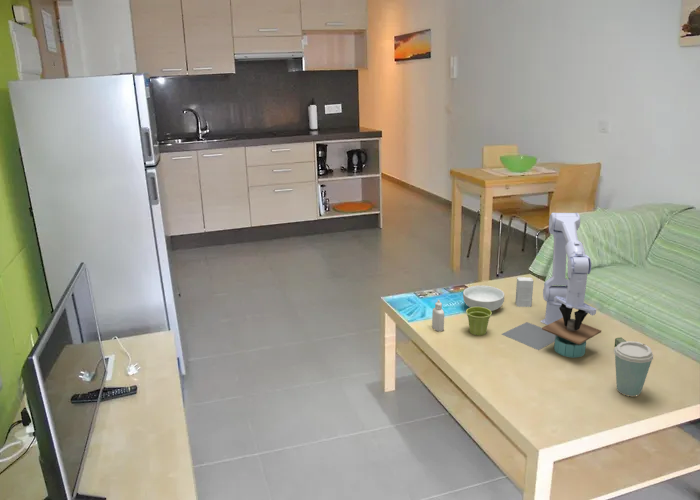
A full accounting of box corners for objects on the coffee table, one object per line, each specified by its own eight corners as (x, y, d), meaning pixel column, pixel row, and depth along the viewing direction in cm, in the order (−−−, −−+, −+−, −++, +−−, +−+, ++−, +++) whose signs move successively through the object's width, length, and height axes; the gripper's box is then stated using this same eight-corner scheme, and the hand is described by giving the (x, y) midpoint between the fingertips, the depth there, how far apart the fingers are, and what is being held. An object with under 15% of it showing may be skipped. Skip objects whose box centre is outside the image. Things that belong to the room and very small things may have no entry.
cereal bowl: (461, 299, 237) (462, 284, 235) (500, 300, 235) (501, 285, 233) (463, 316, 221) (464, 300, 219) (506, 317, 219) (507, 301, 217)
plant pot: (462, 336, 205) (463, 315, 202) (467, 325, 213) (468, 305, 210) (488, 340, 201) (489, 318, 199) (492, 329, 210) (493, 308, 207)
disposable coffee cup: (629, 404, 161) (636, 359, 157) (600, 386, 171) (606, 343, 166) (655, 395, 165) (662, 351, 161) (625, 378, 175) (631, 336, 170)
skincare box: (529, 303, 231) (531, 277, 228) (531, 307, 227) (534, 280, 224) (514, 303, 232) (516, 276, 228) (516, 307, 228) (518, 280, 224)
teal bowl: (564, 341, 199) (565, 329, 197) (590, 352, 191) (591, 339, 190) (548, 350, 193) (549, 337, 191) (574, 361, 185) (576, 348, 184)
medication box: (613, 348, 194) (614, 338, 193) (620, 346, 195) (621, 336, 193) (637, 365, 183) (638, 354, 182) (644, 363, 183) (645, 353, 182)
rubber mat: (526, 322, 214) (526, 322, 214) (563, 337, 202) (564, 336, 202) (501, 335, 205) (501, 334, 205) (538, 351, 193) (538, 350, 193)
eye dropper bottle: (443, 325, 213) (444, 297, 210) (443, 332, 208) (444, 303, 204) (432, 325, 214) (432, 296, 210) (432, 331, 209) (433, 302, 205)
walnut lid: (564, 318, 199) (565, 308, 197) (601, 332, 188) (602, 322, 187) (541, 329, 191) (542, 319, 189) (579, 344, 180) (580, 334, 179)
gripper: (550, 287, 188) (546, 323, 192) (590, 300, 177) (585, 338, 181) (561, 282, 192) (558, 317, 196) (601, 294, 181) (596, 331, 185)
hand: (571, 327), depth 189 cm, fingers closed on walnut lid, 3 cm apart
